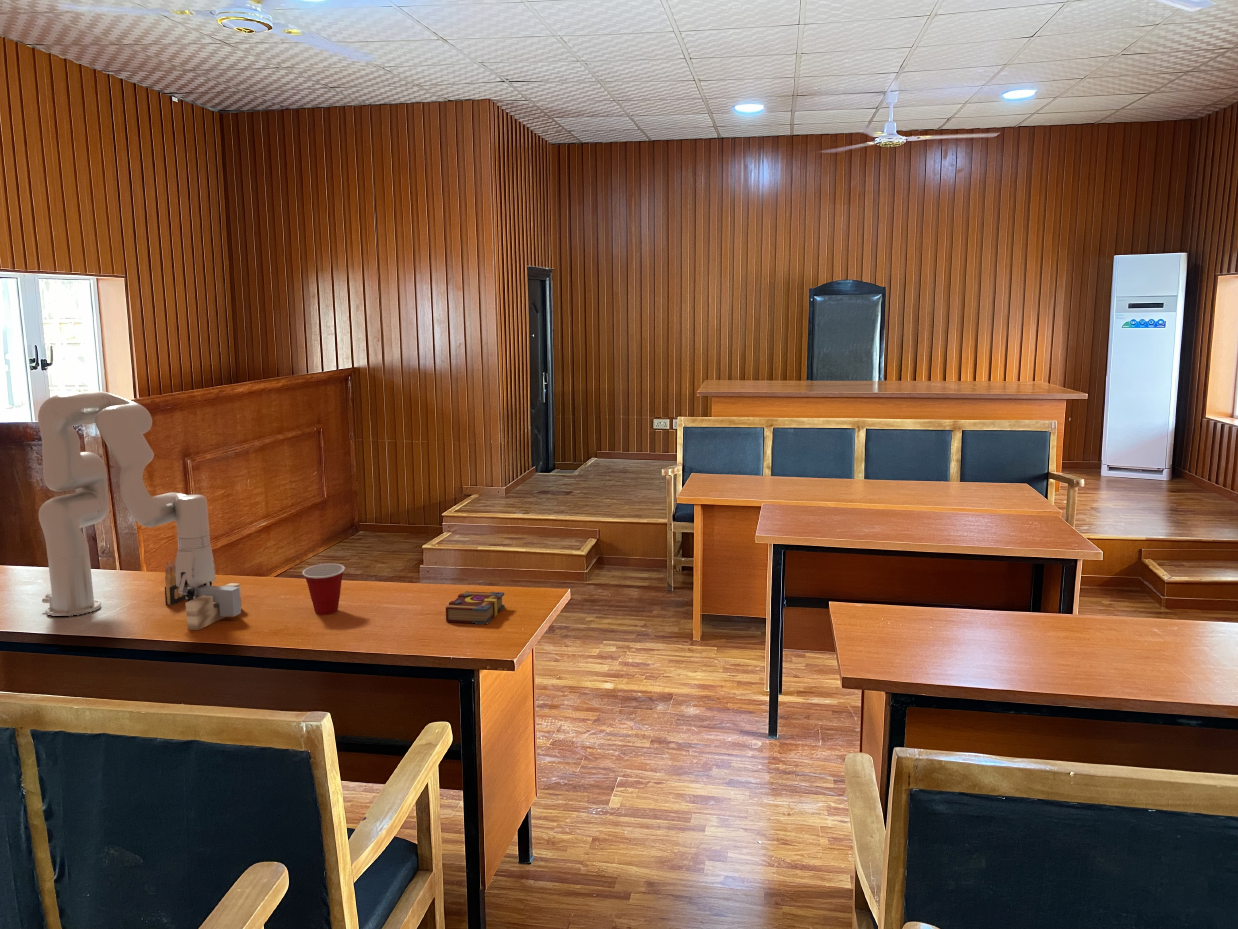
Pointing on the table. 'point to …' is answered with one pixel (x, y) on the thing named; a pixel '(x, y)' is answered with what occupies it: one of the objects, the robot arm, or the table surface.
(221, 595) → the grey block
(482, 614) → the decorative book
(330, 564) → the plastic cup
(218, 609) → the birch block
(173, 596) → the ammunition clip
